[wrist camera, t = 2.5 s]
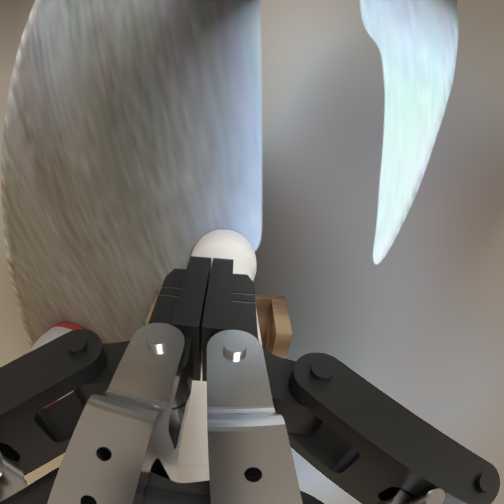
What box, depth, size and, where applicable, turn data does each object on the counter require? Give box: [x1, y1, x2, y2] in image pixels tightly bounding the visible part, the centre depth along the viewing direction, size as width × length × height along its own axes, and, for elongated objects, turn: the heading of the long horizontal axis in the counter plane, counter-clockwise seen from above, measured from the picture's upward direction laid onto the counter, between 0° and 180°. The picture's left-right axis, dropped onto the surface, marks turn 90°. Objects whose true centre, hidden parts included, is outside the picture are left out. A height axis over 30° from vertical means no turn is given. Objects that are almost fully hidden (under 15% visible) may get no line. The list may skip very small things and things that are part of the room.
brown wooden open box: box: [145, 286, 292, 359], centre depth 44 cm, size 32×18×8 cm, turn 174°
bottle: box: [176, 230, 262, 483], centre depth 23 cm, size 8×8×30 cm
